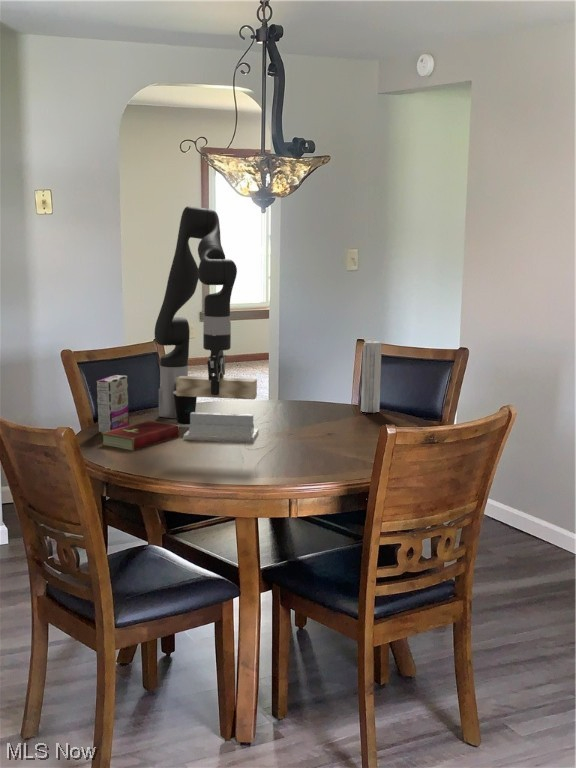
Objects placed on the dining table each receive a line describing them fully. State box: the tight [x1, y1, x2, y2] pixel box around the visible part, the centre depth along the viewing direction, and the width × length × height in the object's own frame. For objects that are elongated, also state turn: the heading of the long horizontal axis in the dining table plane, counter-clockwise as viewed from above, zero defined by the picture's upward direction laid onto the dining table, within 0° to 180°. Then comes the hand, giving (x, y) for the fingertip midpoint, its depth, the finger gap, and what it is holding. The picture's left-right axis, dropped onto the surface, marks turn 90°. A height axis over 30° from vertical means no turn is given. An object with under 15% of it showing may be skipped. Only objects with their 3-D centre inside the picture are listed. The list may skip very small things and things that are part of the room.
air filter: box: [360, 340, 382, 413], centre depth 294 cm, size 6×6×25 cm
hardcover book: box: [100, 419, 180, 452], centre depth 249 cm, size 12×21×4 cm, turn 149°
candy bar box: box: [96, 374, 130, 433], centre depth 262 cm, size 11×5×16 cm, turn 161°
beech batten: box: [176, 375, 258, 400], centre depth 235 cm, size 22×4×5 cm, turn 83°
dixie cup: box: [173, 391, 198, 428], centre depth 269 cm, size 8×8×11 cm
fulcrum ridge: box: [183, 411, 259, 444], centre depth 256 cm, size 21×12×7 cm, turn 85°
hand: (216, 392), depth 235 cm, fingers closed on beech batten, 4 cm apart
